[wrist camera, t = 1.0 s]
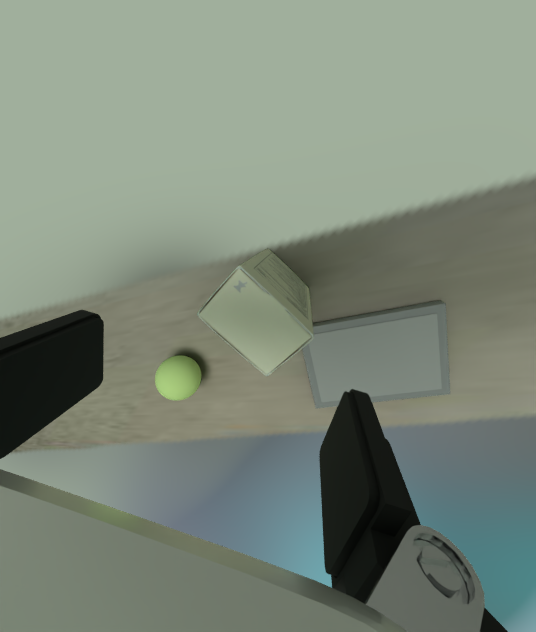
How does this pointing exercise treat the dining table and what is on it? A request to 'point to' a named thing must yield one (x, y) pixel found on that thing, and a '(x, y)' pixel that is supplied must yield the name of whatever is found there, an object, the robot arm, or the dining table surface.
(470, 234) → the dining table surface
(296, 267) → the dining table surface
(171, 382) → the lime
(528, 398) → the dining table surface
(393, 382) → the metal tray
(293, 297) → the skincare box
